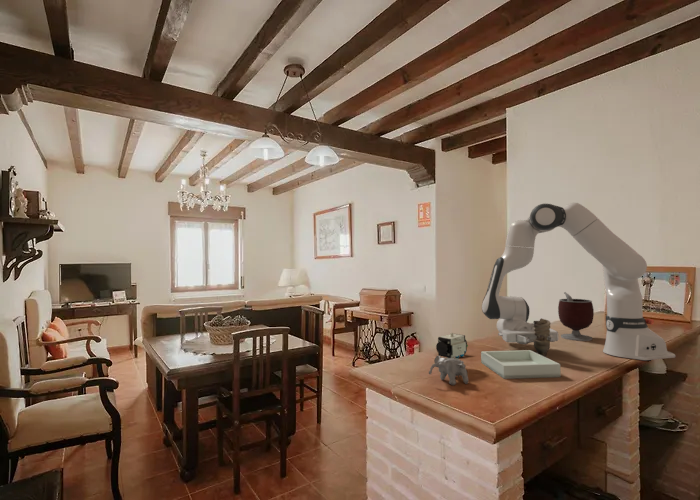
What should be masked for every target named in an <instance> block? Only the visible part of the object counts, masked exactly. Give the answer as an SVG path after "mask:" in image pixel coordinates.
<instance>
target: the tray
mask: <svg viewBox="0 0 700 500" xmlns="http://www.w3.org/2000/svg"><path fill="white" fill-rule="evenodd" d="M480 361H481V362H480V364H481V363H482V365H484V366H486V368H488V369H489V370H491V371H492V372H493V373H495V374H497V375H498V376H499V377H500V378H502V379H505V380H506V379H507V380H508V379H509V380H510V379H511V380H512V379H541V378H542V379H544V378H561V377H562V376H561V374H562V373H561V372H562V371H561V363H559V362H557V361H554V360H552V359H550V358H548V357H547V356H546V357H544V356H542V355H540V354H538V353H537V352H535V351H533V350H530V349H528V350H527V349H525V350H524V349H522V350H519V349H518V350H489V351H486V350H485V351H481V352H480Z"/></svg>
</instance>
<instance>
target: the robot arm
mask: <svg viewBox="0 0 700 500" xmlns="http://www.w3.org/2000/svg"><path fill="white" fill-rule="evenodd" d="M558 227H560V228H563V229H564V230H565V231H566V232H568V234H569V235H570V236H571V237H573V239H574V240H575V241H576V242H577V243H578V244H579V245H580V246H581V247H582V249H584V250H585V251H586V252H587V253H588V254H589V255H591V256H592V257H593V258H594V259H595V260H596V261H598V262H599V263H600V264H601V266H602V272H603V281H604V289H605V295H606V315H605V327H606V335H605V342H604V346H603V350H602V352H603V353H604V354H607V355H610V356H614V357H619V358H627V359H634V360H640V361H652V360H663V359H672V358H673V359H674V358H676V354H675V353H673V352H671V351H668V347H667V344H666V341H665V339H664V338H663V337H661V336H660V335H659V334H657V332H654V331H653V330H652V329H650V328H649V327H648V325H654V323H655V320H654V319H651V318H645V317H643V315H644V314H643V295H642V292H641V289H640V288H641V287H640V284H639V279H641V277H643V276H644V275H645V274H646V272H647V270H648V265H647V261H646V260H645V258H644V257H643V256H642V255H641V254H639V253H638V252H637V251H636V250H635V249H633V248H632V247H631V246H630V245H629V244H628V243H626V241H624V240H623V239H622V238H620V237H619V236H617V235H616V233H614V232H613V231H612V230H611V229H610V228H609V227H608V226H606V224H604V222H602V220H600V218H598V216H596V215H595V214H594V212H592V211H591V210H589V209H588V208H586V207H585V206H584V205H582V204H581V203H579V202H570V203H568V204H566V205H564V206H563V207H561V206H558V205H554V204H551V203H541V204H538V205H536V206H534V208H533V209H532V210H531V212H530V214H529V216H528V217H527V219H524V220H523V219H522V220H521V219H520V220H515V221H513V222H512V223H510V225H509V227H508V232H507V235H506V240H505V245H504V246H505V247H504V251H503V253H502V254H501V256H500V257H498V258H497V259H496V260H495V263H494V265H493V267H492V270H491V271H492V272H491V274H490V278H489V281H488V285H487V290H486V292H485V295H484V297H483V300H482V304H481V311H482V313H483V315H485V317H486V318H488V319H489V320H497V321H496V329H497V331H498V337H499V336H500V337H501V338H502V340H503V341H505V342H506V343H517V344H520V345H528V344H530V343H531V344H532V343H534V339H536V338H537V336H536V335H535V334H534V333H535V331H534V329H535V328H534V323H533V322H528V321H529V317H530V306H529V304H528V302H527V300H525V299H524V298H523V297H522V296H511V295H510V296H507V295H506V296H503V295H500V292H501V288H502V284H503V281H504V278H505V276H506V275H507V274H509V273H511V272H512V271H513V272H514V271H516V270H519V269H522V268H525V267H526V266H528V265H529V264H530V263H531V262H532V260H533V257H534V252H535V241H536V237H537V235H538V234H541V233H546V232H547V233H548V232H550V231H552V230H554V229H556V228H558ZM549 330H550V333H549V336H548V337H547V340H549V341H550V343H554V342H557V341H559V332H558V331H557V330H555V329H553V328H551V327H550V329H549Z"/></svg>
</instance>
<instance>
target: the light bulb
mask: <svg viewBox="0 0 700 500" xmlns="http://www.w3.org/2000/svg"><path fill="white" fill-rule="evenodd" d="M532 323H533V324H534V328H535V329H534V331H535V333H534V334H535V335H536V336H537V338H536V339H534V342H533V347H534V349H535V351H536V353H538V354H540V355H542V356H544V357H546V358H547V352H548V351H549V350H550V347H551V346H550V345H551V344H550V343H551V342H550V341H549V340H547V337H548V336H549V333H550V330H549V329H550V328H551V323H552V322H551V321H550V320H548V319H546V318H540V319H539V320H533V322H532Z"/></svg>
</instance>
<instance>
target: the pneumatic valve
mask: <svg viewBox="0 0 700 500" xmlns="http://www.w3.org/2000/svg"><path fill="white" fill-rule="evenodd" d="M449 333H450V334H446V335H442V336H438V338H437V343H436V344H435V345H436V346H435V348H436V352H437V353H438V355H437V356H440V357H442V358H443V357H444V358H446V359H450V358H453V359H458V360H460V355H462V354H464V355H465V354H466V353H465V351H466V352H467V351H468V347H467V345H468V341H467V339H466V335H465V334H460V333H459V334H458V333H454V332H449ZM458 356H459V358H456V357H458Z"/></svg>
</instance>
